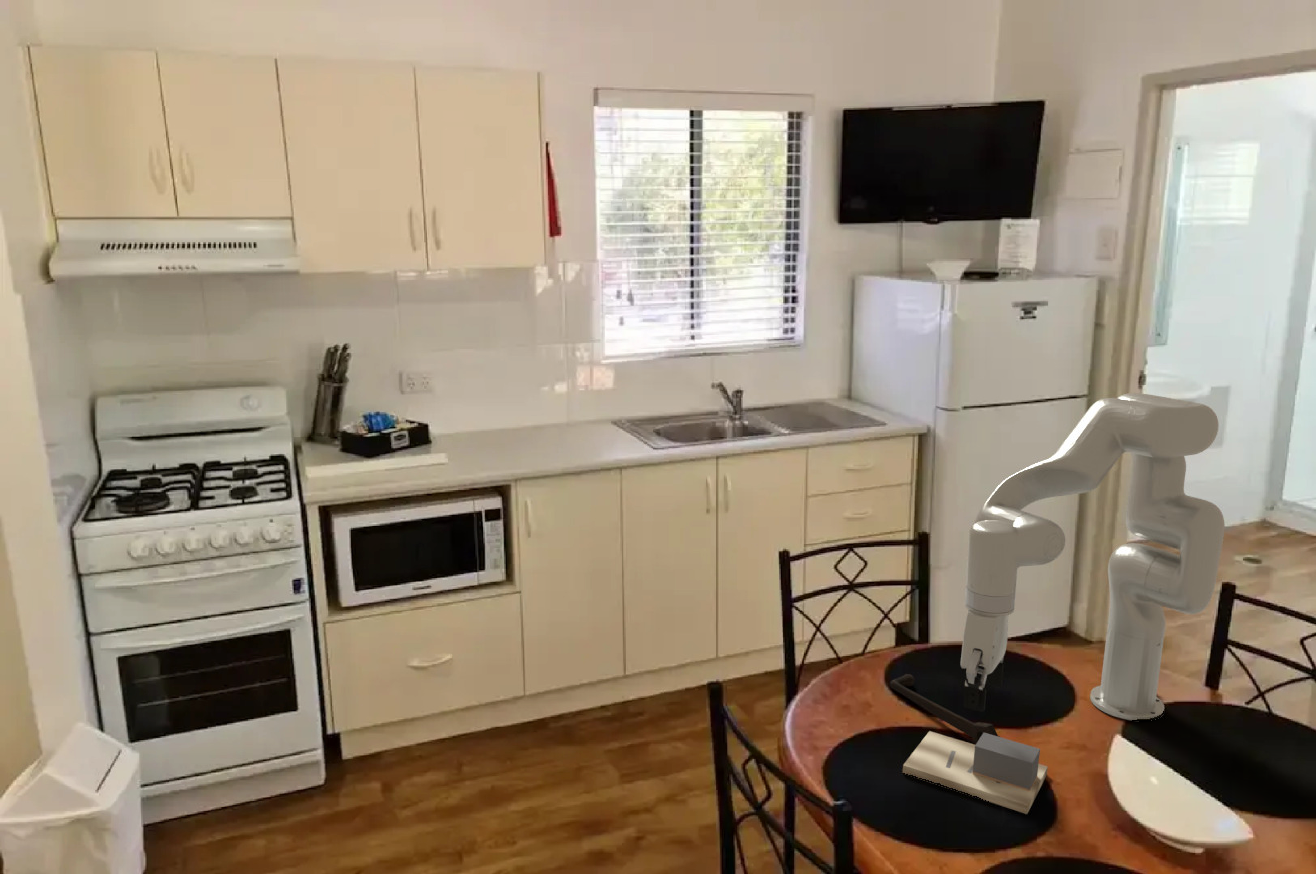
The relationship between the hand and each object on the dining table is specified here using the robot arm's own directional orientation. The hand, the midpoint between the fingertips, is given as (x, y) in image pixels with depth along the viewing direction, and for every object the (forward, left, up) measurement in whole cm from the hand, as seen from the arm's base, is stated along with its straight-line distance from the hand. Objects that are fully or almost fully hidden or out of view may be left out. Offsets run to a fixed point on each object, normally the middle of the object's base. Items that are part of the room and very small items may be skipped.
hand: (983, 696), depth 159 cm
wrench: (-14, -9, -14) cm, 22 cm away
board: (0, 0, -14) cm, 14 cm away
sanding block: (0, +5, -13) cm, 13 cm away
